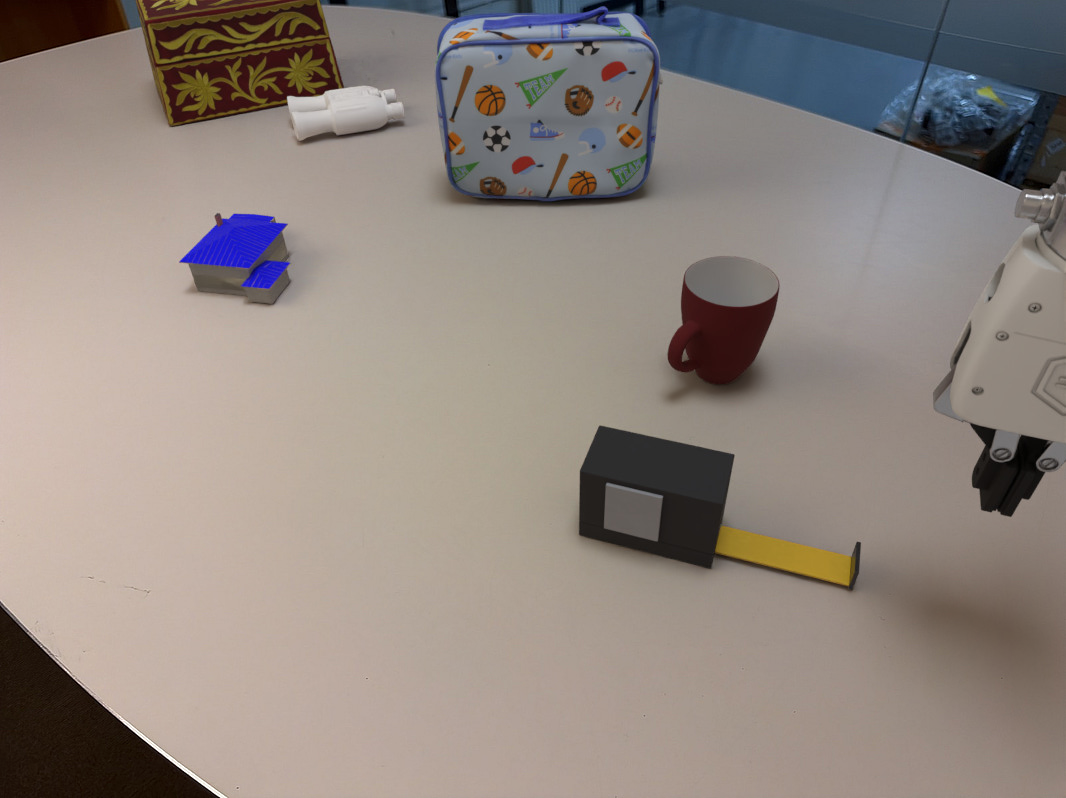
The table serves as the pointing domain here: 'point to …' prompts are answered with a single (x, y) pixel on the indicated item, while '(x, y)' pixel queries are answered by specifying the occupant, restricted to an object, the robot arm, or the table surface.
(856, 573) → the tape blade
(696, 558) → the tape case
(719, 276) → the mug
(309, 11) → the decorative box
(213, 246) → the house
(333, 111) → the binoculars
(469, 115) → the lunch box
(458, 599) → the table surface
